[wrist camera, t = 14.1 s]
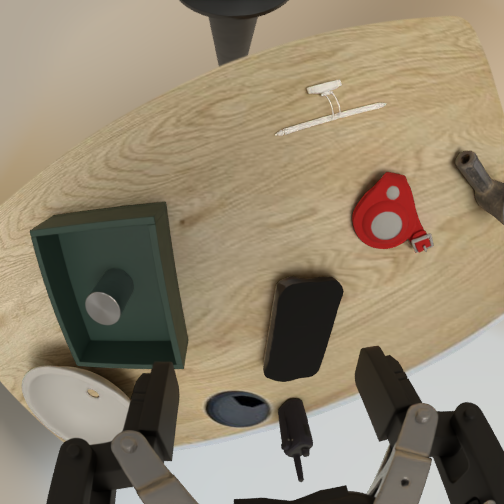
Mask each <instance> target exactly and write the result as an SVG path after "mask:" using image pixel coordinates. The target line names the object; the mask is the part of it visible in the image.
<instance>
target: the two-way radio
mask: <svg viewBox="0 0 504 504" xmlns="http://www.w3.org/2000/svg"><path fill="white" fill-rule="evenodd" d="M278 415H279V424H280V432H281V439H282V444H281V448H282V449H283V450H284V453H285V454H286V455H288V456H289V457H293V458H294V462H295V467H296V471H297V476H298V480H299V481H300V482H302V481H303V480H304V479H303V472H302V465H301V460H300V456H302V455H303V456H304V457H307V456H309V449H310V448H311V447H312V446H313V440H312V436H311V432H310V428H309V425H308V419H307V416H306V413H305V409H304V406H303V402H302V401H301V400H300V399H290V400H288V401H286V402H285V403H284V404H283V405H282V406H281V407H280V409H279V410H278Z"/></svg>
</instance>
